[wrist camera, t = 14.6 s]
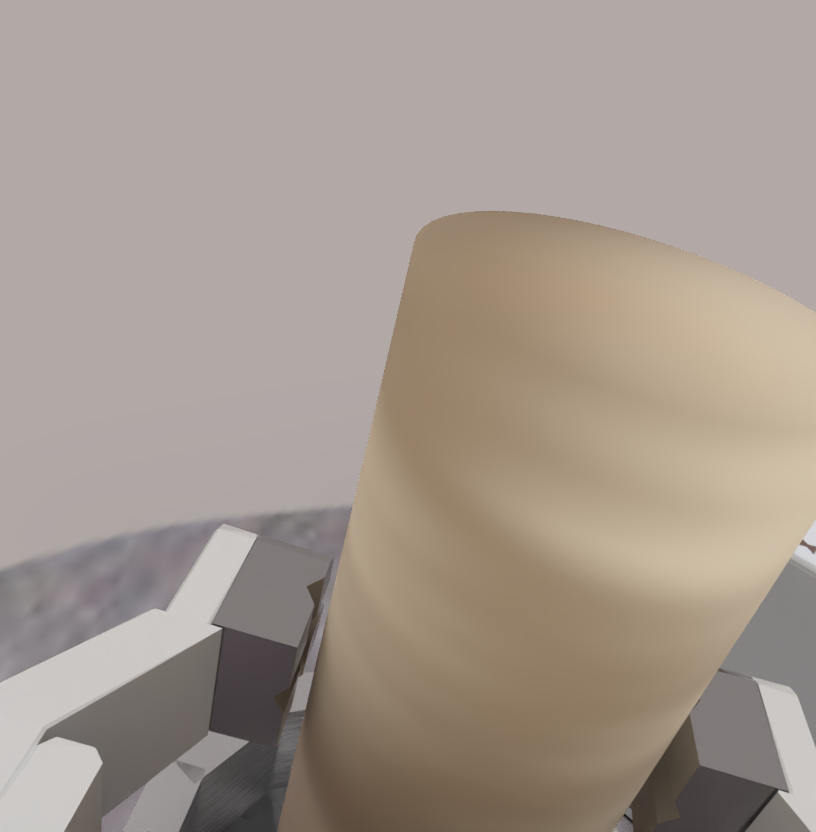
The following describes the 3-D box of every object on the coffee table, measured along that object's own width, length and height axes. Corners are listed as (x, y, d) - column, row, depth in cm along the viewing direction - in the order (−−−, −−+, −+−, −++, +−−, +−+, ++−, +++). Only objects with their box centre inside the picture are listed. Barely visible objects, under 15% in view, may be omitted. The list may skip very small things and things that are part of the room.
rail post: (495, 867, 14) (805, 281, 8) (477, 1147, 11) (993, 498, 5) (292, 807, 14) (444, 183, 8) (210, 1065, 11) (368, 325, 5)
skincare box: (712, 895, 24) (932, 639, 18) (598, 796, 26) (758, 536, 20) (771, 777, 28) (963, 538, 22) (668, 700, 30) (818, 462, 24)
